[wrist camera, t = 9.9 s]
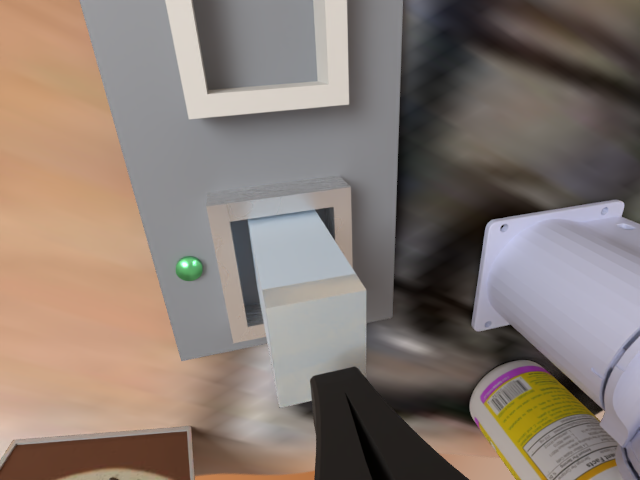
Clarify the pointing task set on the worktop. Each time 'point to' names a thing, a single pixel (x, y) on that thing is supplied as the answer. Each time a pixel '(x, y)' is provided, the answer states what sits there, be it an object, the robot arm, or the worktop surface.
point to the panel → (249, 139)
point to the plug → (306, 302)
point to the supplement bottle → (541, 426)
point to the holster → (268, 97)
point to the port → (261, 204)
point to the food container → (103, 456)
